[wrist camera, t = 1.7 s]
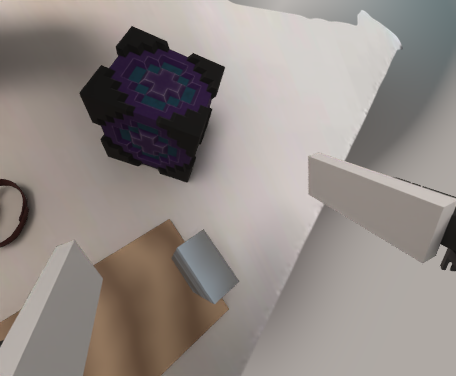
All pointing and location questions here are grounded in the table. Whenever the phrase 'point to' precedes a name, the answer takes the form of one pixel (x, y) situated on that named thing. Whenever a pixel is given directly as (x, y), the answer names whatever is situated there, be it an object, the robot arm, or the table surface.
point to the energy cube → (153, 103)
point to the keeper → (153, 302)
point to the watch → (22, 217)
